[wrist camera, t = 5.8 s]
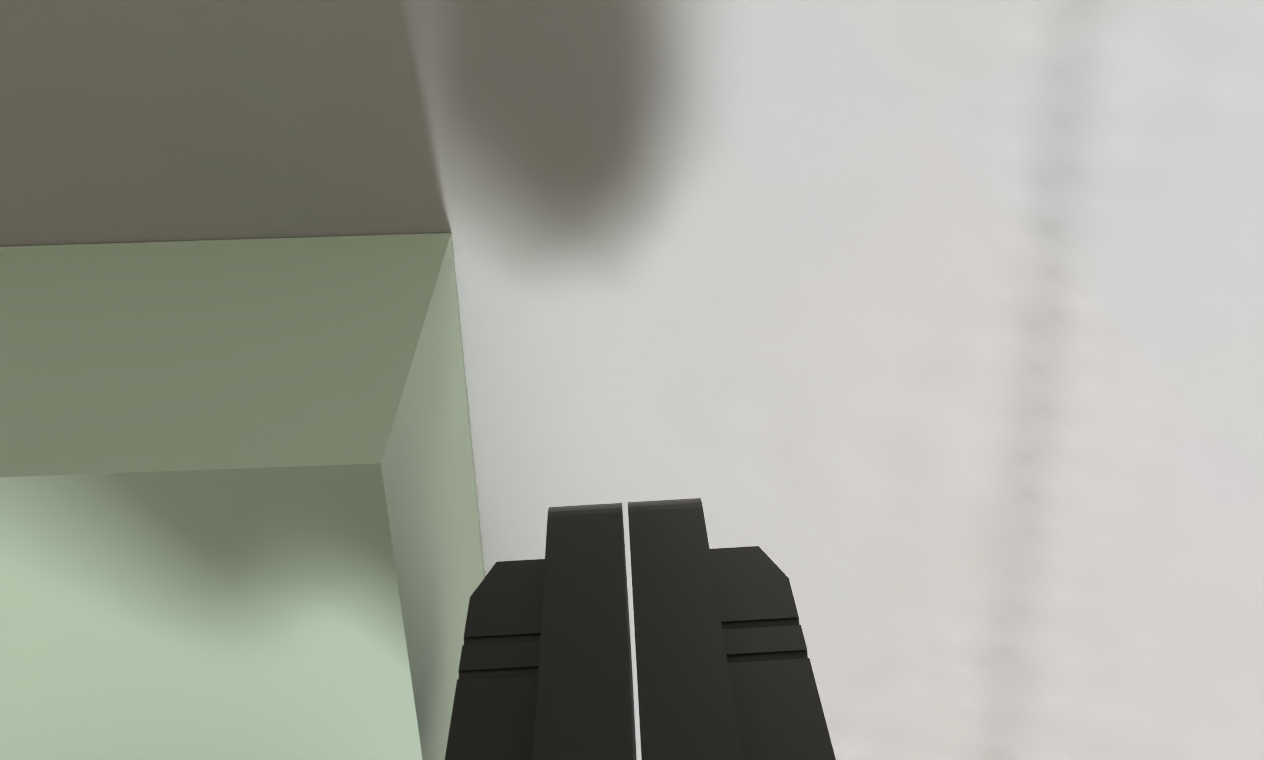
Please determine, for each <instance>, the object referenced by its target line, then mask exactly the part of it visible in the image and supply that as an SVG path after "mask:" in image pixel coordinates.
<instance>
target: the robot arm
mask: <svg viewBox="0 0 1264 760" xmlns="http://www.w3.org/2000/svg"><path fill="white" fill-rule="evenodd" d="M628 515H629V533H630V551H631V570H632V588H633V607H634V625H635V644H636V662H637V680H638V699H639V717H640V736H641V754H642V760H836V759H835V755H834V752H833V748H832V744H831V740H830V736H829V732H828V728H827V725H826V721H825V717H824V713H823V709H822V705H821V701H820V698H819V694H818V690H817V686H816V682H815V678H814V674H813V671H812V667H811V663H810V659H809V658H808V656H807V647H806V644H805V640H804V636H803V632H802V628H801V625H799V617H798V613H797V609H796V605H795V601H794V597H793V594H792V590H791V586H790V582H789V578H788V577H787V576H786V575H785V574H784V573H783V572H782V571H781V570H780V569H779V568H778V567H777V565H776V564H775V563H774V562H773V561H772V560H771V559H770V558H769V557H768V556H767V555H766V554H765V553H764V552H763V551H762V550H761V549H760V547H759V546H754V547H737V548H720V549H709V544H708V538H707V532H706V525H705V519H704V513H703V507H702V502H701V499H700V498H696V499H679V500H662V501H645V502H628ZM458 672H459V679H457V683H456V690H455V696H454V702H453V709H452V715H451V722H450V728H449V735H448V741H447V748H446V754H445V760H636V739H635V719H634V698H633V678H632V660H631V642H630V625H629V609H628V592H627V576H626V560H625V544H624V527H623V512H622V503H615V504H598V505H581V506H564V507H549V510H548V521H547V537H546V553H545V559H538V560H521V561H504V562H496V564H495V565H494V566H493V567H492V569H491V570H490V571H489V573H488V574H487V575H486V577H485V578H484V579H483V581H482V582H481V583H480V585H479V586H478V587H477V589H476V590H475V591H474V592H473V594H472V595H471V596H470V599H469V605H468V612H467V618H466V625H465V631H464V645H462V651H461V657H460V664H459V670H458Z"/></svg>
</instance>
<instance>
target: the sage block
mask: <svg viewBox="0 0 1264 760" xmlns="http://www.w3.org/2000/svg"><path fill="white" fill-rule="evenodd" d="M484 578H485V576H484V565H483V555H482V544H481V534H480V524H479V513H478V503H477V493H476V482H475V472H474V462H473V451H472V441H471V431H470V420H469V410H468V399H467V389H466V379H465V368H464V358H463V348H462V337H461V327H460V317H459V306H458V296H457V286H456V275H455V265H454V254H453V244H452V234H451V233H428V234H395V235H363V236H330V237H298V238H265V239H233V240H200V241H167V242H135V243H102V244H70V245H37V246H5V247H0V760H445V754H446V748H447V741H448V735H449V728H450V722H451V715H452V709H453V702H454V696H455V690H456V683H457V679H459V672H458V670H459V664H460V657H461V651H462V645H464V631H465V625H466V618H467V612H468V605H469V599H470V596H471V595H472V594H473V592H474V591H475V590H476V589H477V587H478V586H479V585H480V583H481V582H482V581H483V579H484Z"/></svg>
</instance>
